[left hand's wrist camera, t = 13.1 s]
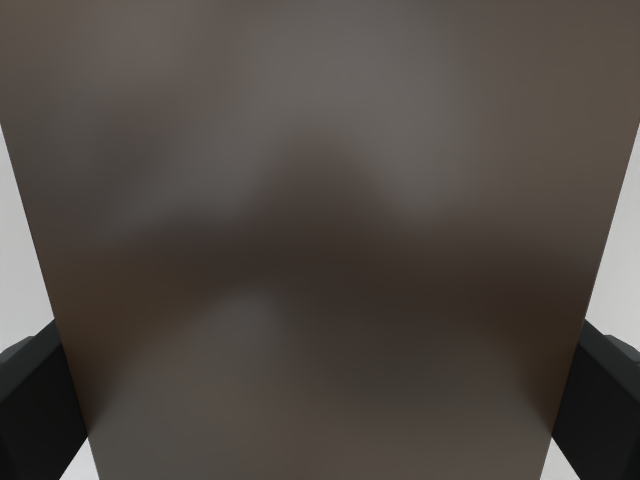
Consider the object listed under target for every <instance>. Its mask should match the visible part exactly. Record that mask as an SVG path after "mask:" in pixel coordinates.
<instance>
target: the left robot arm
mask: <svg viewBox="0 0 640 480" xmlns="http://www.w3.org/2000/svg"><path fill="white" fill-rule="evenodd" d="M552 438H553V439H554V441H555V442H556V444H557V445H558V447H559V448H560V450H561V451H562V453H563V454H564V456H565V457H566V459H567V460H568V462H569V463H570V465H571V466H572V468H573V469H574V471H575V472H576V474H577V475H578V477H579V478H580V480H640V352H639V351H637V350H636V349H635V348H634V347H632V346H630V345H628V344H627V343H625V342H623V341H621V340H619V339H617V338H615V337H614V336H612V335H603V334H602V333H601V332H599V331H598V330H597V329H596V328H595V327H594V326H593V325H591V324H590V323H589V322H588V321H587V320H586V319H585V320H584V323H583V327H582V330H581V334H580V337H579V341H578V345H577V348H576V352H575V355H574V359H573V362H572V366H571V370H570V373H569V377H568V380H567V384H566V387H565V391H564V395H563V398H562V402H561V405H560V409H559V412H558V416H557V420H556V423H555V427H554V430H553V434H552ZM86 439H87V433H86V429H85V426H84V422H83V419H82V415H81V411H80V408H79V404H78V401H77V397H76V394H75V390H74V386H73V383H72V379H71V376H70V372H69V368H68V365H67V361H66V358H65V354H64V350H63V347H62V343H61V340H60V336H59V333H58V329H57V325H56V322H55V319H54V320H53V321H52V322H50V323H49V324H48V325H47V326H46V327H45V328H44V329H42V330H41V331H40V332H39V333H38V334H37V335H36V336H29V337H27V338H25V339H23V340H22V341H20V342H18V343H16V344H14V345H12V346H11V347H9V348H7V349H6V350H4V351H3V352H2V353H1V354H0V480H59V479H60V478H61V476H62V475H63V473H64V472H65V470H66V469H67V467H68V466H69V464H70V463H71V461H72V460H73V458H74V457H75V455H76V454H77V452H78V451H79V449H80V448H81V446H82V445H83V443H84V442H85V440H86Z"/></svg>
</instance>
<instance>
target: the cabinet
mask: <svg viewBox="0 0 640 480" xmlns="http://www.w3.org/2000/svg"><path fill="white" fill-rule="evenodd" d="M639 123H640V0H0V124H1V128H2V132H3V135H4V139H5V142H6V146H7V150H8V153H9V157H10V160H11V164H12V167H13V171H14V175H15V178H16V182H17V185H18V189H19V193H20V196H21V200H22V203H23V207H24V211H25V214H26V218H27V221H28V225H29V228H30V232H31V236H32V239H33V243H34V246H35V250H36V254H37V257H38V261H39V264H40V268H41V272H42V275H43V279H44V282H45V286H46V289H47V293H48V297H49V300H50V304H51V307H52V311H53V315H54V318H55V322H56V325H57V329H58V333H59V336H60V340H61V343H62V347H63V350H64V354H65V358H66V361H67V365H68V368H69V372H70V376H71V379H72V383H73V386H74V390H75V394H76V397H77V401H78V404H79V408H80V411H81V415H82V419H83V422H84V426H85V429H86V433H87V437H88V440H89V444H90V447H91V451H92V455H93V458H94V462H95V465H96V469H97V472H98V476H99V480H540V477H541V473H542V469H543V466H544V462H545V459H546V455H547V452H548V448H549V445H550V441H551V437H552V434H553V430H554V427H555V423H556V420H557V416H558V412H559V409H560V405H561V402H562V398H563V395H564V391H565V387H566V384H567V380H568V377H569V373H570V370H571V366H572V362H573V359H574V355H575V352H576V348H577V345H578V341H579V337H580V334H581V330H582V327H583V323H584V320H585V316H586V312H587V309H588V305H589V302H590V298H591V295H592V291H593V287H594V284H595V280H596V277H597V273H598V270H599V266H600V262H601V259H602V255H603V252H604V248H605V245H606V241H607V237H608V234H609V230H610V227H611V223H612V220H613V216H614V212H615V209H616V205H617V202H618V198H619V195H620V191H621V187H622V184H623V180H624V177H625V173H626V170H627V166H628V162H629V159H630V155H631V152H632V148H633V145H634V141H635V138H636V134H637V130H638V127H639Z"/></svg>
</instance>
